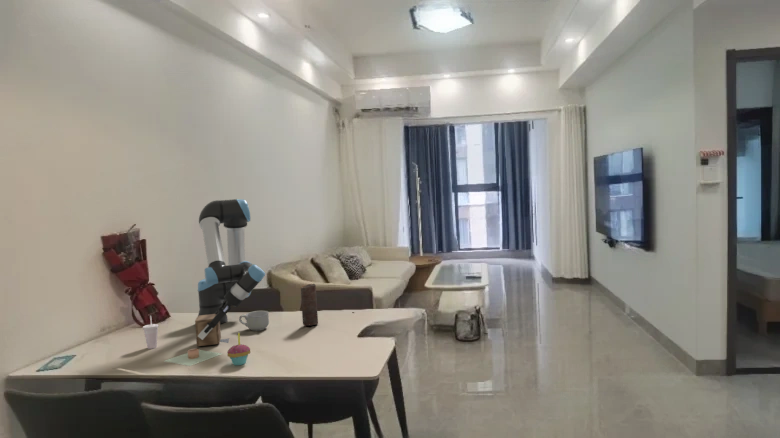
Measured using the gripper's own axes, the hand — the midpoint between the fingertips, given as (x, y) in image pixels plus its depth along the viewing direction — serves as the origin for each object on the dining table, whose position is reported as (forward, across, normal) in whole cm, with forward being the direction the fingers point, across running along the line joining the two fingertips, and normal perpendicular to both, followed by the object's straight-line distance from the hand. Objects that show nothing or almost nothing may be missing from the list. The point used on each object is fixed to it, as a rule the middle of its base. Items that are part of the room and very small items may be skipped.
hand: (201, 334), depth 226 cm
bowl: (+4, -18, -2) cm, 19 cm away
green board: (+4, -18, -2) cm, 19 cm away
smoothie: (+19, +8, +12) cm, 24 cm away
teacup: (-12, +19, -20) cm, 30 cm away
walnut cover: (0, 0, -5) cm, 5 cm away
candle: (-30, +14, -38) cm, 51 cm away
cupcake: (-9, -33, -16) cm, 37 cm away
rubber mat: (+1, 0, -6) cm, 6 cm away
